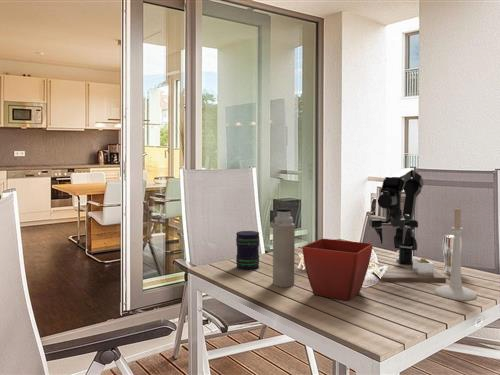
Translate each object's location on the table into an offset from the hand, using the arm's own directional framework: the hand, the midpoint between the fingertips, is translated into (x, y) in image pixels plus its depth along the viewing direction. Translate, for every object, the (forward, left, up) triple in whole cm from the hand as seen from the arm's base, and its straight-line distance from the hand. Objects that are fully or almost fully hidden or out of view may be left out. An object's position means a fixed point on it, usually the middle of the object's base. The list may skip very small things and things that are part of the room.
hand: (392, 244), depth 182 cm
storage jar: (-3, -60, -11) cm, 61 cm away
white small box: (+10, +9, -10) cm, 16 cm away
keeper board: (+10, +3, -11) cm, 15 cm away
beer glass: (+3, +23, -11) cm, 26 cm away
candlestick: (+32, +12, -11) cm, 36 cm away
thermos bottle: (+21, -46, -11) cm, 52 cm away
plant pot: (+32, -28, -11) cm, 44 cm away
